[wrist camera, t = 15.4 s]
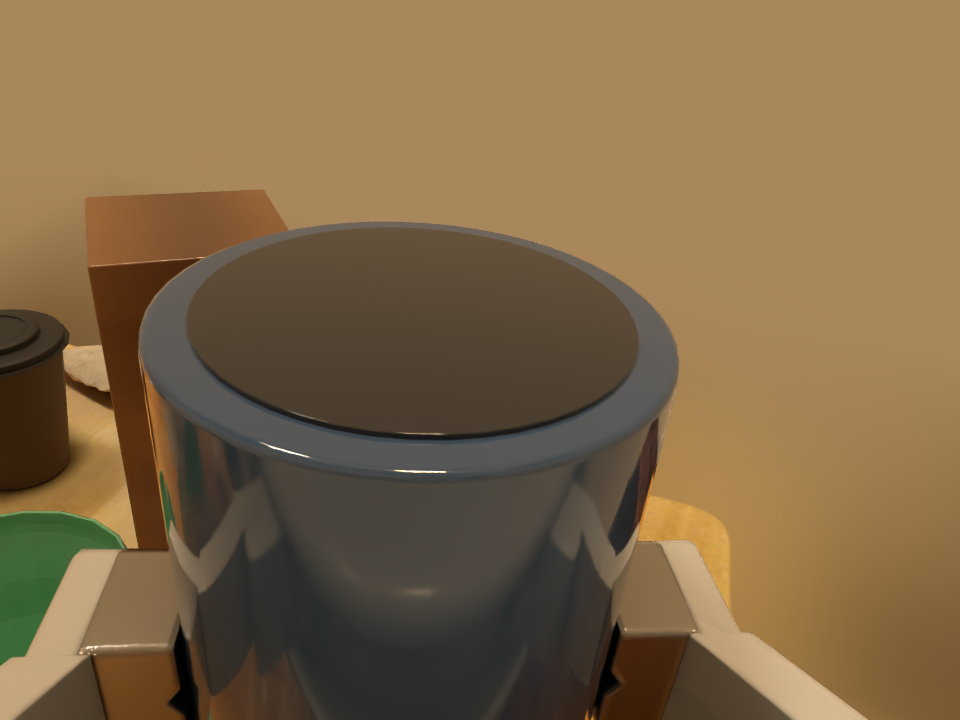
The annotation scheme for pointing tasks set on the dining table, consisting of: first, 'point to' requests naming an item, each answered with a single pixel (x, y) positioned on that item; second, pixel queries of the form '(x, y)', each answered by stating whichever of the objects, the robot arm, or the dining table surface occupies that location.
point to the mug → (39, 568)
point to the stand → (132, 286)
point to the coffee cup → (32, 399)
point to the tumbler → (401, 470)
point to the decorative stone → (87, 366)
